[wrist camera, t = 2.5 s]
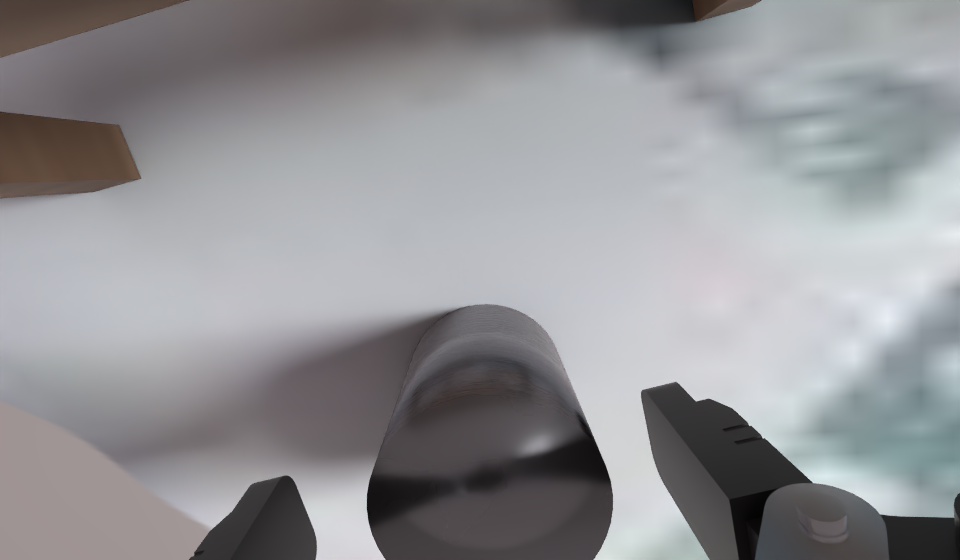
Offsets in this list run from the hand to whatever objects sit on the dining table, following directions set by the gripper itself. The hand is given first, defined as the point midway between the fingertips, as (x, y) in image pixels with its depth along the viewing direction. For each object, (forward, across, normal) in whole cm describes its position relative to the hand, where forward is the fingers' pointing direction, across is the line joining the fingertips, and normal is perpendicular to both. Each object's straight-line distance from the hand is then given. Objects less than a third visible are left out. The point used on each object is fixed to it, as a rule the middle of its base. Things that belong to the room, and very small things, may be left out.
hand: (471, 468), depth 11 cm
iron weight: (+5, 0, 0) cm, 5 cm away
